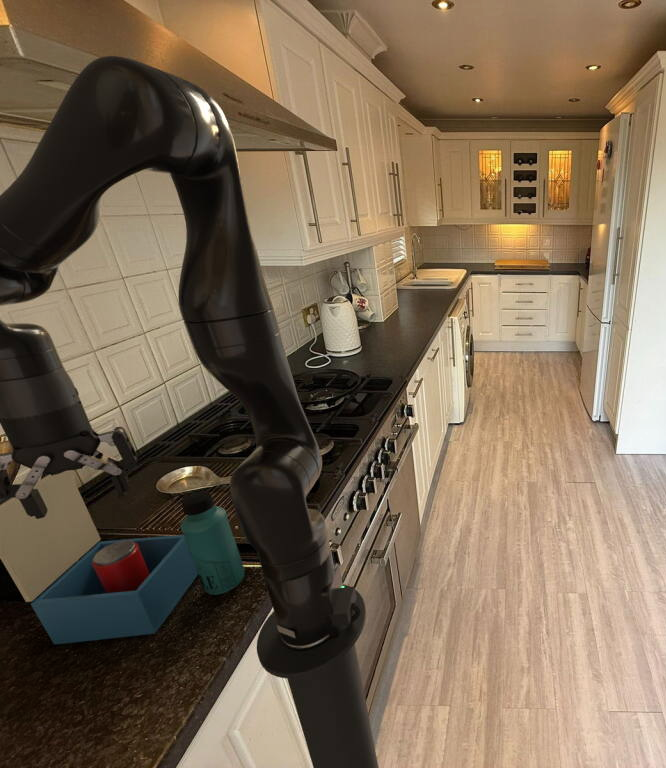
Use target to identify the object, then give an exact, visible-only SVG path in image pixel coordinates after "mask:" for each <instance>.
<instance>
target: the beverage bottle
mask: <svg viewBox="0 0 666 768" xmlns="http://www.w3.org/2000/svg"><path fill="white" fill-rule="evenodd" d="M181 506H182V511H183V514H184V515H185V518H183V520H182V521H181V524H180V530H181V532H182V535H184V536H185V539H186V542H187V544H188V548H189V550H190V552H189V553H191V556H192V558H193V561H194V564H195V566H196V569H197V572H198V576H197V578H198V580H199V583H200V585H201V587H202V590H203V591H204V592H206V593H207V594H208V595H213V596H215V595H216V596H217V595H221V594H222V595H223V594H225V593H228V592H229V591H232V590H233V589H235V588H236V587H237V586H239V585H240V583H241V582H242V581H243V580H244V578H245V574H246V570H245V565H244V562H243V559H242V556H241V553H240V552H241V551H240V549H239V547H238V545H237V542H236V539H235V537H234V535H233V532H232V529H231V525H230V522H229V519H228V515H227V510H226V509H225V508H223V507H221V506H217V505H215V500H214V498H213V496H212V493H211V492H210V491H207V490H200V491H195V492H192V493H190V494H188V495H187V496H185V497H184V498H183V499H182V500H181ZM188 548H187V549H188ZM189 550H188V551H189ZM197 572H196V573H197Z"/></svg>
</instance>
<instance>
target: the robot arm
mask: <svg viewBox="0 0 666 768" xmlns="http://www.w3.org/2000/svg"><path fill="white" fill-rule="evenodd" d="M240 169H241V168H240V163H239V159H238V153H237V147H236V143H235V140H234V135H233V132H232V129H231V126H230V124H229V121H228V119H227V117H226V115H225V113H224V111H223V109H222V108H221V106H220V104H218V103H217V101H216V100H215V98H214V97H213V96H212V95H211V94H209V92H207V91H206V90H205V89H204V88H202V87H201V86H199V85H197V84H196V83H194V82H191V81H189V80H187V79H184V78H182V77H179V76H177V75H175V74H173V73H169V72H167V71H165V70H161V69H159V68H157V67H154V66H152V65H149V64H146V63H145V62H141V61H138V60H136V59H132V58H129V57H123V56H119V55H106V56H100V57H97V58H96V59H94V60H92V61H90V63H88V64H87V65H86V66H85V67H84V68H83V69H82V70H81V71H80V72H79V74H78V75H77V76H76V78H75V79H74V81H73V82H72V84H71V85H70V87H69V88H68V90H67V92H66V93H65V95H64V97H63V99H62V100H61V103H60V105H59V107H58V108H57V110H56V111H55V114H54V116H53V118H52V120H51V121H50V123H49V124H48V126H47V128H46V129H45V131H44V133H43V136H42V137H41V139H40V141H39V142H38V144H37V146H36V148H35V150H34V152H33V154H32V155H31V157H30V160H29V161H28V163H27V164H26V166H25V167H24V169H23V170H22V172H21V173H20V174H19V175H18V177H16V179H15V180H14V181H13V182H12V183H11V184H10V186H8V187H7V188H6V189H5V190H4V191H3V192H2V193H1V194H0V307H3V306H8V305H16V304H21V303H22V304H23V303H27V302H30V301H33V300H36V299H38V298H39V297H41V296H43V295H44V294H46V293H47V292H48V291H49V290H50V289H51V287H52V285H53V283H54V280H55V278H56V276H57V273H58V271H59V268H60V265H61V264H62V263H64V262H65V261H66V260H67V259H69V258H70V257H71V256H72V255H74V254H75V253H76V252H77V251H79V250H80V249H81V248H82V247H83V246H84V245H85V244H86V243H87V242H89V240H90V239H91V238H92V237H93V236H94V234H95V233H96V231H97V229H98V226H99V222H100V213H101V211H100V210H101V209H100V208H101V207H100V206H101V205H100V203H101V199H102V197H103V196H104V194H106V192H107V191H109V189H111V188H112V187H114V186H115V185H117V184H118V183H120V182H121V181H124V180H125V179H128V178H130V177H131V176H133V175H135V174H137V173H141V172H142V171H149V172H154V173H161V174H168V175H169V176H170V177H171V180H172V182H173V185H174V188H175V190H176V193H177V197H178V200H179V202H180V206H181V209H182V212H183V216H184V221H185V229H186V231H185V232H186V233H185V235H186V237H185V238H186V239H185V240H186V241H185V248H184V253H183V257H182V258H183V259H182V264H181V269H180V275H179V276H180V277H179V283H178V295H177V296H178V308H179V312H180V315H181V318H182V321H183V324H184V327H185V329H186V332H187V335H188V337H189V340H190V343H191V345H192V348H193V350H194V352H195V354H196V357H197V358H198V360H199V362H200V363H201V365H202V367H203V368H204V369H205V370H206V371H207V372H208V373H209V374H210V375H211V376H212V377H213V378H214V379H215V380H216V381H217V382H218V383H219V384H220V385H222V386H223V387H224V388H225V389H226V390H227V391H228V392H229V393H231V394H232V395H233V396H234V397H235V398H236V400H238V401H239V402H240V404H241V405H242V407H243V408H244V410H245V412H246V414H247V416H248V419H249V422H250V424H251V428H252V431H253V435H254V440H255V445H256V446H255V447H256V448H255V449H254V451H253V452H252V453H251V454H250V455H248V457H246V458H245V459H244V460H243V461H242V462H241V463H240V464H239V466H237V467H236V468H235V469H234V471H233V473H231V477H230V479H229V494H230V498H231V503H232V505H233V508H234V511H235V514H236V517H237V519H238V522H239V524H240V526H241V530H242V533H243V535H244V537H245V539H246V541H247V542H248V544H249V545H250V546H251V547H252V548H254V550H255V551H256V553H257V556H258V560H259V563H260V564H259V565H260V567H261V570H262V574H263V578H264V581H265V585H266V589H267V592H268V596H269V599H270V602H271V606H272V609H273V611H274V613H275V616H276V620H277V623H278V625H277V627H278V631H279V632H280V636H281V640H282V642H283V644H284V645H285V646H286V647H287V648H288V649H290V650H294V651H306V650H310V649H314V648H316V647H318V646H320V645H322V644H324V643H325V642H327V641H328V640H329V639H332V638H337V637H338V635H339V632H340V628H341V626H343V625H349V624H352V623H353V622H354V621H355V620H356V619H357V618H358V617H359V616H360V613H361V610H360V608H359V606H357V605H356V604H355V601H356V592H355V590H356V587H355V586H353V585H352V586H350V587H344V586H343V584H344V583H343V579H342V578H343V577H342V574H341V569H340V568H341V567H340V565H339V563H338V562H334V560H333V559H334V558H333V554H332V548H331V544H330V539H329V535H328V528H327V523H326V519H325V517H324V515H323V514H322V513H321V512H320V511H318V510H317V509H314V508H309V507H308V503H307V496H308V494H309V493H310V491H311V490H312V488H313V487H314V485H315V484H316V482H317V481H318V479H319V478H320V475H321V472H322V468H323V456H322V453H321V450H320V447H319V445H318V442H317V438H316V437H315V435H314V432H313V430H312V428H311V425H310V422H309V420H308V418H307V416H306V413H305V411H304V409H303V406H302V404H301V401H300V398H299V395H298V391H297V389H296V384H295V380H294V377H293V373H292V371H291V367H290V363H289V361H288V360H289V359H288V356H287V353H286V350H285V347H284V343H283V337H282V334H281V329H280V326H279V322H278V319H277V315H276V312H275V309H274V305H273V301H272V300H271V296H270V294H269V289H268V287H267V283H266V280H265V277H264V274H263V270H262V265H261V262H260V258H259V254H258V250H257V246H256V242H255V240H254V239H255V238H254V236H253V232H252V228H251V224H250V223H251V222H250V219H249V213H248V209H247V203H246V200H245V194H244V188H243V183H242V176H241V170H240ZM79 395H80V393H79V391H78V389H77V387H76V386H75V384H74V382H73V379H72V378H71V376H70V375H69V373H68V372H67V370H66V368H65V366H64V365H63V362H62V359H61V357H60V355H59V352H58V350H57V347H56V345H55V343H54V340H53V339H52V337H51V334H50V333H49V331H48V329H46V328H45V327H44V326H42V325H39V324H36V323H26V322H23V323H21V322H20V323H19V322H17V323H16V322H15V323H14V322H13V323H10V322H9V323H5V322H4V321H3V320H1V319H0V426H1V428H2V430H3V432H4V434H5V436H6V438H7V441H8V442H9V444H10V446H11V447H12V451H9V452H3V453H0V500H2V499H5V498H11V497H13V498H17V499H19V500H20V502H21V504H22V506H23V508H24V509H25V511H26V513H27V515H29V516H30V517H32V516H35V517H36V519H40V518H43V517H45V516H46V514H47V511H48V510H47V507H46V505H45V503H44V501H43V499H42V497H41V495H40V493H39V491H38V489H34V486H35V485H36V483H37V482H38V481H40V478H41V477H42V475H49V474H51V476H52V475H56V474H60V473H62V472H64V471H78V470H81V469H83V468H84V467H86V466H87V467H89V468H91V469H93V470H97V471H99V470H100V471H103V472H105V473H107V474H110V475H111V476H110V479H111V481H112V484H113V487H114V489H115V492H116V494H117V496H118V497H119V498H121V497H124V496H126V495H127V492H129V491H130V487H131V482H130V479H129V476H128V473H127V470H128V469H132V468H135V467H136V466H137V463H138V459H139V456H138V454H137V451H136V449H135V448H134V445H133V443H132V441H131V439H130V436H129V435H128V433H127V431H126V428H125V427H123V426H116V427H115V428H114V429H113V430H110V431H106V432H102V433H98V432H97V431H95V430H94V429H93V427H92V424H91V422H90V420H89V418H88V415H87V412H86V410H85V408H84V405H83V403H82V400H81V398H80V396H79ZM101 443H107V445H108V446H110V447H116V450H117V451H118V453H119V455H120V457H121V459H118V458H115V457H113V456H112V455H110V454H109V453H108V452H106V451H104V450H102V449H100V448H99V446H101ZM11 462H14V463H17V464H19V465H21V466H24V467H25V468H28V469H30V470H29V472H28V473H27V475H26V477H25V478H24V480H23V481H22V483H15V484H13V482H12V480H11V478H10V475H9V473H8V468H9V466H10V465H11ZM353 610H354V611H355V614H354V615H353V616H352V613H353Z"/></svg>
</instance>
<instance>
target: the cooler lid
mask: <svg viewBox="0 0 666 768" xmlns="http://www.w3.org/2000/svg"><path fill="white" fill-rule="evenodd" d="M34 489H38V491H39V493H40V495H41V497H42V499H43V501H44V503H45V505H46V507H47V510H48V511H47V514H46V516H45V517H43V518H40V519H36V517H35V516H32V517H30V516H29V515H27V513H26V511H25V509H24V508H23V506H22V504H21V502H20V500H19V499H17V498H13V497H11V498H5V499H2V500H0V560H1V563H3V565H4V567H5V569H6V570H7V572H8V575H10V577H11V578H12V581H13V582H14V584H15V586H16V587H17V589H18V591H19V592H20V594H21V596H22V598H23V599H24V601H25V603H32V602H33V601H35V600H36V599H37V598H38V597H39V596H40V595H41V594H42V593H44V592H45V591H46V590H47V589H48V588H49V587H50V586H51V585H52V584H53V583H55V582H56V581H57V580H58V579H59V578H60V577H61V576H62V575H63V574H65V573H66V572H67V571H68V570H69V569H70V568H71V567H72V566H73V565H75V564H76V563H77V562H78V561H79V560H80V559H81V558H82V557H83V556H84V555H86V554H87V553H88V552H89V551H90V550H91V549H92V548H93V547H94V546H96V545H97V544H98V543H99V542H101V539H102V538H101V536H100V534H99V532H98V529H97V528H96V526H95V523H94V521H93V519H92V516H91V514H90V511H89V510H88V508H87V505H86V504H85V501H84V499H83V497H82V495H81V493H80V491H79V488H78V486H77V484H76V482H75V479H74V477H73V475H72V474H71V470H69V471H64V472H62V473H60V474H56V475H52V476H51V474H47V475H46V476H44V477H42V478H41V479H39V480H38V481H37V483H36V485H35V486H34Z"/></svg>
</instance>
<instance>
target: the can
mask: <svg viewBox="0 0 666 768" xmlns="http://www.w3.org/2000/svg"><path fill="white" fill-rule="evenodd" d="M124 540H125V541H119V542H116V543H113V544H111V545H108V546H106V547H105V548H103V549H101V550H100V551H99V552H98V553H96V555H95V556H94V558H93V561H92V566H93V568H94V570H95V572H96V574H97V576H98V578H99V580H100V582H101V584H102V586H103V588H104V590H105V592H106V593H116V592H126V591H136V590H137V589H138V588H139V586H140V585H141V584H142V583H143V582H144V581H145V579H146V578H147V577H148V576H149V575H150V573H149V570H148V568H147V565H146V563H145V561H144V558H143V556H142V554H141V551H140V549H139V546H138V544H137V543H135V542H133V541H130V540H126V539H124Z"/></svg>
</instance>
